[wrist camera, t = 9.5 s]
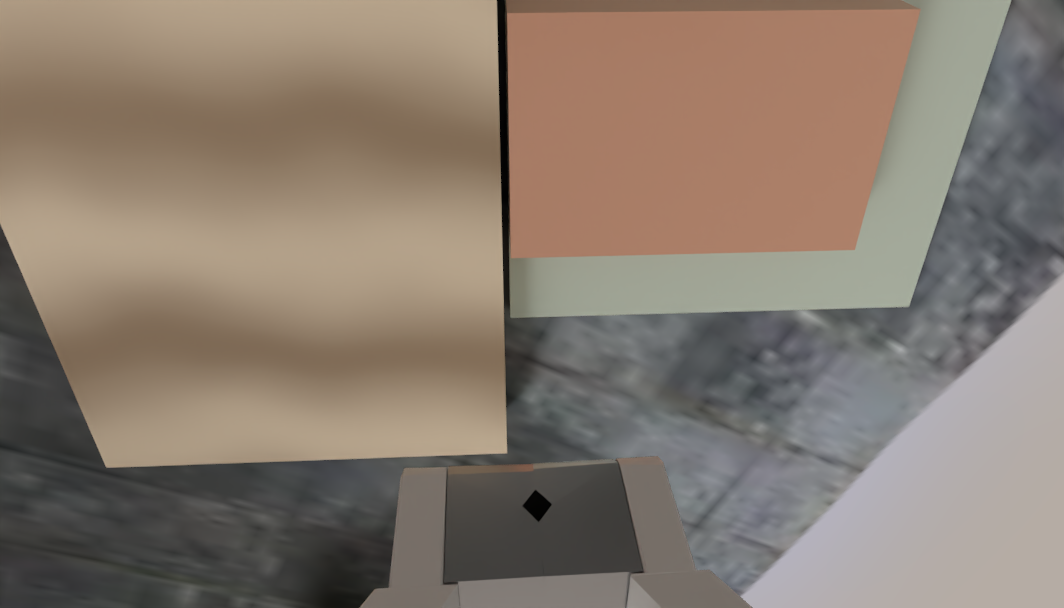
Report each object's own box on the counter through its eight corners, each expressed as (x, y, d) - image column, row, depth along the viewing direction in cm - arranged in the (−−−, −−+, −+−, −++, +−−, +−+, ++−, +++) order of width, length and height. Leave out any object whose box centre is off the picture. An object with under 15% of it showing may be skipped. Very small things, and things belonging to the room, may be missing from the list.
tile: (832, 223, 21) (855, 250, 20) (509, 230, 21) (510, 258, 19) (889, -6, 18) (920, 9, 16) (505, -2, 17) (507, 12, 16)
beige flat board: (505, 409, 25) (507, 453, 23) (132, 422, 24) (106, 467, 23) (486, -421, 14) (486, -453, 12) (-200, -432, 13) (-300, -467, 12)
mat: (901, 297, 23) (908, 306, 23) (509, 308, 23) (510, 317, 22) (1088, -278, 15) (1105, -280, 15) (500, -282, 15) (500, -285, 14)
